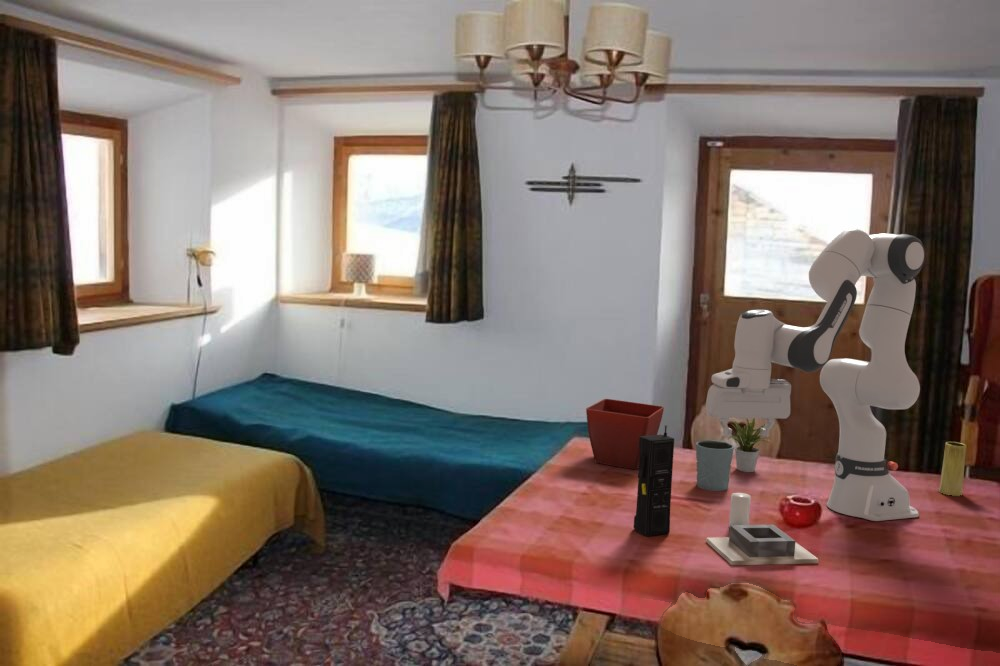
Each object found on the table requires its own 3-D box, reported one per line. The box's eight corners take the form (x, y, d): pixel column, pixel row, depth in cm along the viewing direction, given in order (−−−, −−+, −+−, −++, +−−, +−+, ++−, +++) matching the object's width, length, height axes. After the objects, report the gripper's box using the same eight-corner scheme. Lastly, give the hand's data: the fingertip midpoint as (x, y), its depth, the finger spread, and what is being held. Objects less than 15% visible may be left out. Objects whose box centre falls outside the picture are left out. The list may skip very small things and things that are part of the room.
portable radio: (644, 538, 209) (651, 431, 206) (628, 529, 214) (635, 425, 211) (671, 534, 213) (679, 429, 210) (655, 525, 218) (663, 423, 215)
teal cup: (738, 489, 252) (741, 446, 250) (712, 493, 246) (715, 450, 244) (710, 479, 260) (713, 438, 258) (685, 483, 254) (688, 441, 253)
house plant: (778, 478, 264) (783, 423, 262) (731, 476, 264) (735, 421, 262) (765, 465, 278) (769, 413, 276) (720, 463, 278) (724, 410, 276)
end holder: (787, 540, 212) (788, 521, 212) (817, 563, 198) (819, 543, 198) (706, 541, 209) (707, 522, 208) (731, 565, 195) (733, 545, 194)
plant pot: (661, 459, 279) (665, 405, 277) (644, 474, 262) (648, 417, 260) (601, 450, 287) (604, 398, 285) (581, 464, 269) (584, 408, 267)
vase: (939, 494, 255) (944, 444, 254) (937, 488, 261) (943, 440, 259) (963, 497, 253) (969, 447, 251) (961, 492, 259) (967, 443, 257)
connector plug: (743, 524, 222) (745, 492, 221) (751, 530, 218) (754, 498, 217) (725, 524, 221) (728, 492, 220) (733, 531, 217) (736, 498, 216)
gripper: (785, 377, 220) (780, 433, 222) (705, 375, 216) (700, 432, 218) (798, 381, 214) (792, 439, 215) (715, 380, 210) (711, 438, 212)
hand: (745, 435), depth 217 cm, fingers open, 8 cm apart
